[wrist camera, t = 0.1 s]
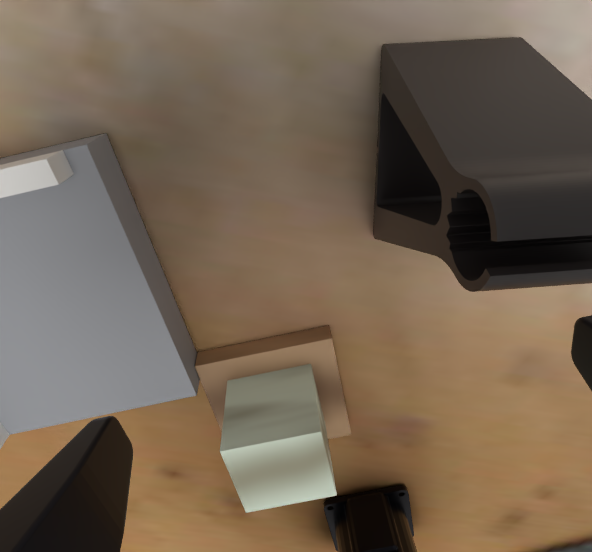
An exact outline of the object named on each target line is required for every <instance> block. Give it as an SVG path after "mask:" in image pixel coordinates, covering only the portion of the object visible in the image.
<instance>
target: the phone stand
mask: <svg viewBox="0 0 592 552" xmlns="http://www.w3.org/2000/svg"><path fill="white" fill-rule="evenodd" d="M377 147H378V153H377V159H376V181H375V203H374V225H373V234H374V238H375V239H377V240H381V241H385V242H388V243H392V244H395V245H399V246H403V247H406V248H410V249H413V250H417V251H421V252H424V253H428V254H431V255H435V256H438V257H439V258H441V259H442V260H443V261H445V263H446V264H447V265H448V266H449V267H450V269H451V270H452V272H453V273H454V275H455V277H456V278H457V280H458V282H459V283H460V284H461V285H462V286H463V287H464V288H465V289H466V290H468V291H472V292H475V291H489V290H502V289H516V288H530V287H544V286H558V285H571V284H585V283H592V100H591V99H590V98H589V97H588V96H587V95H586V94H585V93H584V92H582V91H581V90H580V89H579V88H578V87H577V86H576V85H575V84H573V83H572V82H571V81H570V80H569V79H568V78H567V77H565V76H564V75H563V74H562V73H561V72H560V71H559V70H558V69H556V68H555V67H554V66H553V65H552V64H551V63H550V62H549V61H547V60H546V59H545V58H544V57H543V56H542V55H541V54H540V53H538V52H537V51H536V50H535V49H534V48H533V47H532V46H531V45H529V44H528V43H527V42H526V41H525V40H524V39H523V38H521V37H519V38H499V39H479V40H459V41H439V42H420V43H400V44H383V46H382V51H381V71H380V93H379V115H378V137H377Z"/></svg>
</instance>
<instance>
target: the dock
mask: <svg viewBox="0 0 592 552" xmlns="http://www.w3.org/2000/svg"><path fill="white" fill-rule="evenodd" d="M196 358H197V352H196V350H195V347H194V345H193V342H192V340H191V337H190V335H189V333H188V330H187V328H186V325H185V323H184V321H183V318H182V316H181V313H180V311H179V308H178V306H177V304H176V301H175V299H174V296H173V294H172V291H171V289H170V287H169V284H168V282H167V279H166V277H165V274H164V272H163V270H162V267H161V265H160V262H159V260H158V257H157V255H156V253H155V250H154V248H153V245H152V243H151V240H150V238H149V236H148V233H147V231H146V228H145V226H144V224H143V221H142V219H141V216H140V214H139V211H138V209H137V207H136V204H135V202H134V199H133V197H132V194H131V192H130V190H129V187H128V185H127V182H126V180H125V177H124V175H123V173H122V170H121V168H120V165H119V163H118V160H117V158H116V156H115V153H114V151H113V148H112V146H111V144H110V141H109V139H108V136H107V134H106V133H105V134H100V135H96V136H92V137H88V138H84V139H79V140H75V141H71V142H67V143H63V144H58V145H54V146H50V147H46V148H42V149H37V150H33V151H29V152H25V153H20V154H16V155H12V156H8V157H4V158H0V449H1V447H2V446H3V444H4V442H5V441H6V439H7V438H8V436H9V435H10V434H15V433H19V432H24V431H29V430H34V429H39V428H43V427H48V426H53V425H58V424H62V423H67V422H72V421H77V420H82V419H86V418H91V417H96V416H101V415H106V414H110V413H115V412H120V411H125V410H129V409H134V408H139V407H144V406H149V405H153V404H158V403H163V402H168V401H172V400H177V399H182V398H187V397H192V396H196V395H197V391H198V386H199V380H200V378H199V376H198V373H197V371H196V368H195V363H196Z"/></svg>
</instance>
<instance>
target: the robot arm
mask: <svg viewBox="0 0 592 552" xmlns="http://www.w3.org/2000/svg"><path fill="white" fill-rule="evenodd" d="M571 355H572V359H573V362H574V364H575V366H576V368H577V369H578V371H579V372H580V374H581V375H582V377H583V378H584V380H585V382H586V383H587V385H588V386H589V388H590V389H591V391H592V315H591V316H587V317H582V318H579V319H578V320H577V321H576V322H575V326H574V333H573V341H572V349H571ZM132 460H133V448H132V444H131V442H130V440H129V438H128V437H127V435H126V433H125V431H124V430H123V428H122V426H121V425H120V423H119V421H118V420H117V418H115V417H114V416H108V417H103V418H98V419H95V420H92V421H91V422H90V423H88V424H87V425H86V426H85V427H84V428H83V429H82V430H81V431H80V432H79V433H78V434H77V435H76V436H75V437H74V438H73V439H72V440H71V441H70V442H69V443H68V444H67V445H66V446H65V447H64V448H63V449H62V450H61V451H60V452H59V453H58V454H57V455H56V456H55V457H54V458H53V459H52V460H51V461H49V462H48V463H47V464H46V465H45V466H44V467H43V468H42V469H41V470H40V471H39V472H38V473H37V474H36V475H35V476H34V477H33V478H32V479H31V480H30V481H29V482H28V483H27V484H26V485H25V486H24V487H23V488H22V489H21V490H20V491H19V492H18V493H17V494H16V495H15V496H14V497H13V498H12V499H11V500H9V501H8V502H7V503H6V504H5V505H4V506H3V507H2V508H1V509H0V552H120V548H121V543H122V538H123V533H124V526H125V519H126V511H127V502H128V494H129V485H130V477H131V468H132ZM323 506H324V511H325V515H326V518H327V521H328V525H329V528H330V532H331V535H332V538H333V542H334V545H335V548H336V550H337V551H338V552H417V550H416V546H415V543H414V540H413V536H414V532H413V524H412V517H411V509H410V502H409V494H408V491H407V488H406V486H403V485H400V486H394V487H389V488H384V489H379V490H374V491H369V492H364V493H359V494H354V495H349V496H343V497H338V498H333V499H328V500H326V501H324V503H323Z"/></svg>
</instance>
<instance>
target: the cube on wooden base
mask: <svg viewBox="0 0 592 552" xmlns="http://www.w3.org/2000/svg"><path fill="white" fill-rule="evenodd" d="M195 368H196V371H197V373H198V376H199V378H200V381H201V383H202V385H203V388H204V390H205V393H206V395H207V398H208V400H209V402H210V405H211V407H212V410H213V412H214V415H215V417H216V419H217V422H218V424H219V427H220V429H221V432H222V437H221V446H220V453H221V455H222V458H223V460H224V462H225V465H226V467H227V469H228V472H229V474H230V476H231V479H232V481H233V483H234V486H235V488H236V490H237V493H238V495H239V497H240V500H241V502H242V504H243V507H244V509H245V511H246V513H248V512H253V511H258V510H263V509H269V508H274V507H279V506H284V505H289V504H295V503H300V502H305V501H310V500H316V499H321V498H326V497H331V496H337V493H336V487H335V481H334V475H333V468H332V462H331V456H330V450H329V444H328V439H332V438H337V437H342V436H347V435H351V430H350V425H349V420H348V415H347V410H346V405H345V400H344V395H343V390H342V385H341V380H340V375H339V370H338V366H337V361H336V356H335V351H334V346H333V341H332V336H331V332H330V328H329V325H327V326H322V327H318V328H313V329H308V330H303V331H298V332H293V333H288V334H284V335H279V336H274V337H269V338H264V339H259V340H254V341H250V342H245V343H240V344H235V345H230V346H225V347H220V348H216V349H211V350H206V351H201V352H198V353H197V358H196V363H195Z"/></svg>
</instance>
